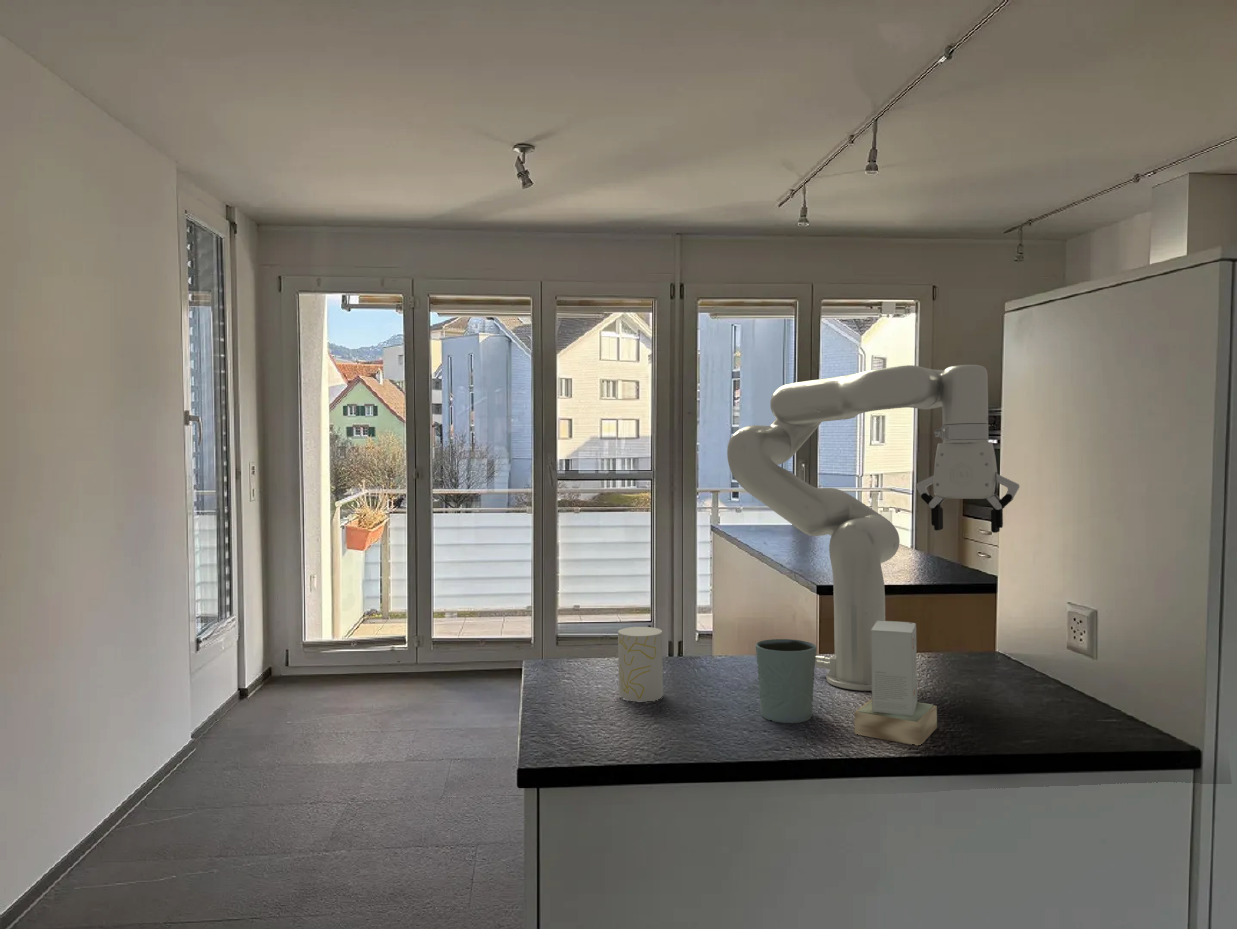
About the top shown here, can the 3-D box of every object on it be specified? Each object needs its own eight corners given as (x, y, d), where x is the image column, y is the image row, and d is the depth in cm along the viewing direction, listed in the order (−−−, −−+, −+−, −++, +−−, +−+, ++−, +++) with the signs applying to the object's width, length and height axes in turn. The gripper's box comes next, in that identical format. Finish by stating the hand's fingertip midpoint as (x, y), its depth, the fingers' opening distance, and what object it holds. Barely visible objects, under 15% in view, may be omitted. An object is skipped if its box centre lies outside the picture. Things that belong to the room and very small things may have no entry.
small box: (877, 698, 137) (876, 619, 137) (917, 702, 134) (917, 622, 134) (870, 712, 129) (870, 629, 129) (913, 717, 127) (913, 632, 127)
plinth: (854, 734, 130) (854, 710, 130) (874, 717, 139) (874, 695, 139) (920, 746, 125) (919, 721, 125) (936, 727, 133) (936, 704, 133)
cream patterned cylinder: (612, 700, 151) (611, 634, 150) (628, 688, 158) (627, 625, 158) (654, 704, 147) (653, 637, 147) (668, 692, 155) (668, 628, 155)
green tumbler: (751, 720, 138) (750, 649, 138) (762, 703, 147) (761, 636, 147) (813, 727, 134) (812, 653, 134) (820, 709, 144) (819, 640, 144)
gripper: (909, 436, 150) (910, 530, 150) (1013, 433, 139) (1014, 534, 139) (922, 436, 156) (923, 527, 156) (1022, 433, 145) (1023, 531, 145)
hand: (966, 530), depth 147 cm, fingers open, 9 cm apart
